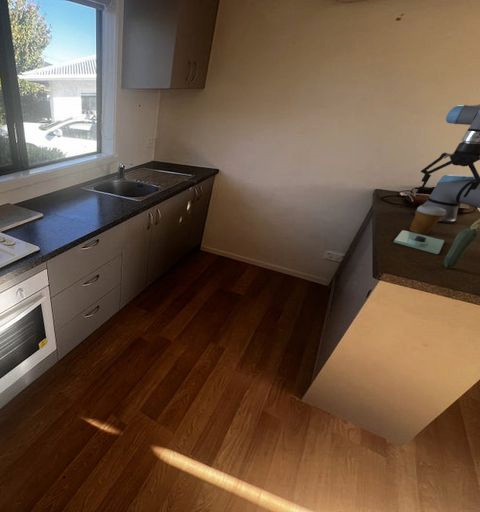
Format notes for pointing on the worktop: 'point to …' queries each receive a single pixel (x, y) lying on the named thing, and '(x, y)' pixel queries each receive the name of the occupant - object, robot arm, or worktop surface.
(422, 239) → the button
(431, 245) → the scale
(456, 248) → the vegetable
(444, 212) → the disposable coffee cup
